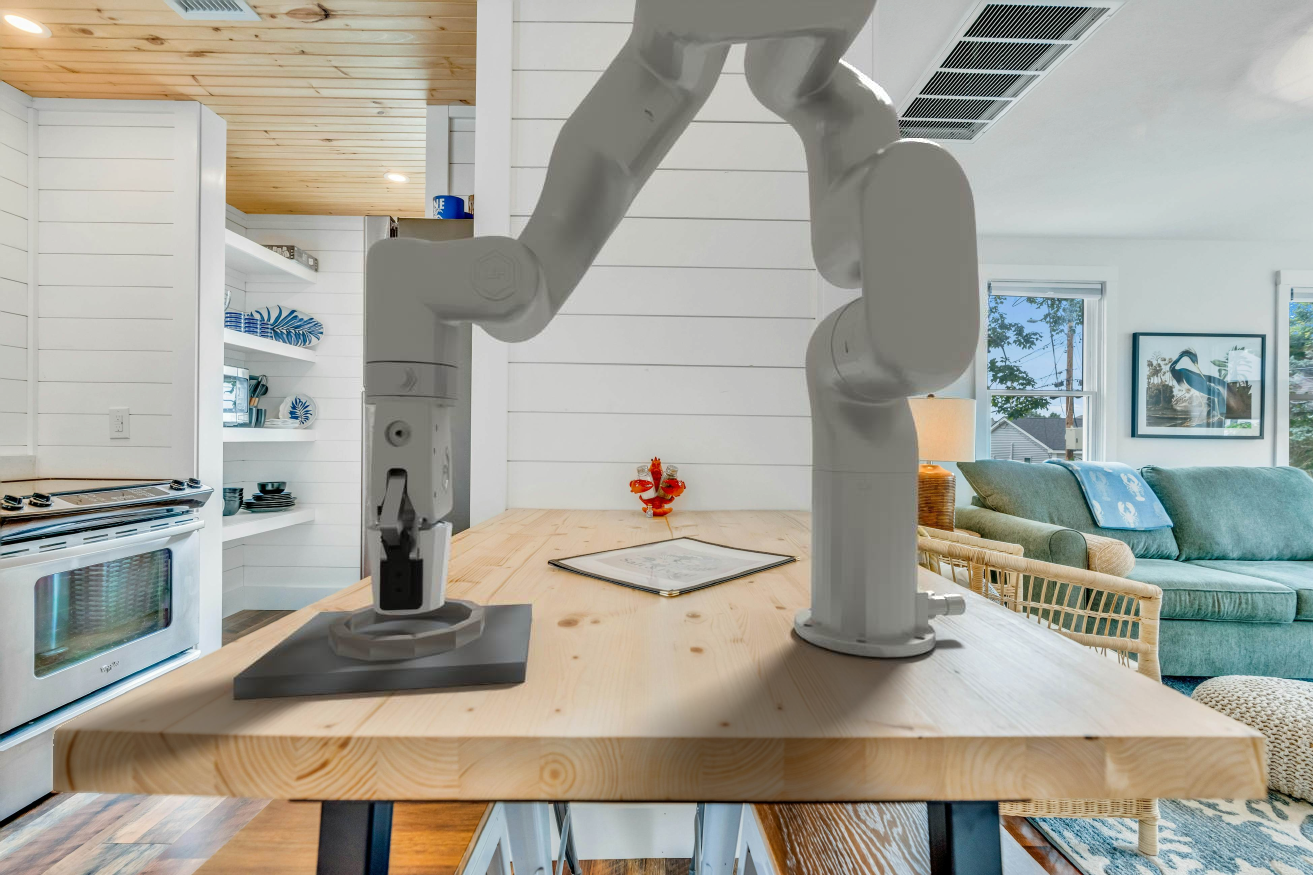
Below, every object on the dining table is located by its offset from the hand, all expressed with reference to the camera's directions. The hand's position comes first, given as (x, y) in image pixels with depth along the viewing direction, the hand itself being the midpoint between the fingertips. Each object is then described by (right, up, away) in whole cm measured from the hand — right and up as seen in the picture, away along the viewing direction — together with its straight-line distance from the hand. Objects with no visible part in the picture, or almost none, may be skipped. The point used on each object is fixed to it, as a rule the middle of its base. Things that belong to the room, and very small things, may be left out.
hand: (410, 596), depth 52 cm
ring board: (0, -5, 0) cm, 5 cm away
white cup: (0, -1, 0) cm, 1 cm away
